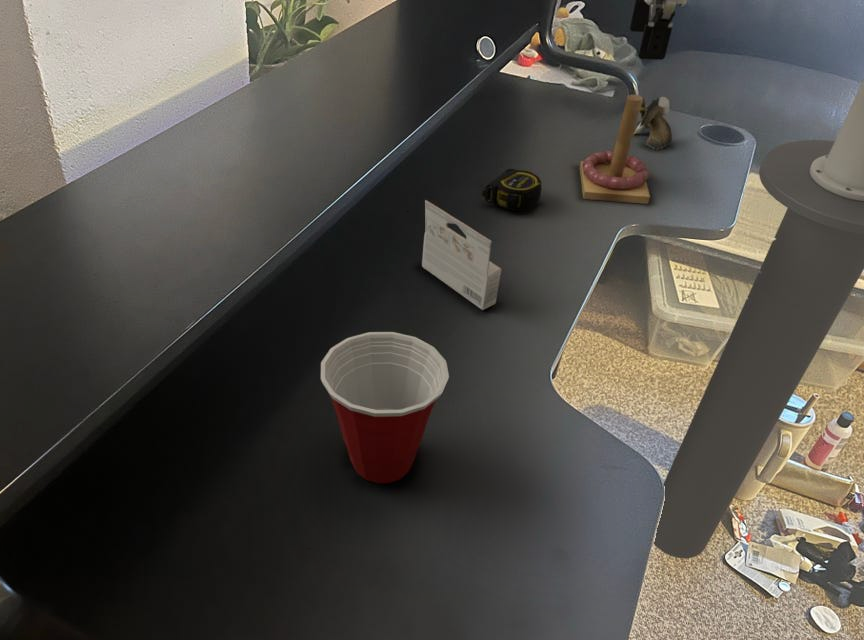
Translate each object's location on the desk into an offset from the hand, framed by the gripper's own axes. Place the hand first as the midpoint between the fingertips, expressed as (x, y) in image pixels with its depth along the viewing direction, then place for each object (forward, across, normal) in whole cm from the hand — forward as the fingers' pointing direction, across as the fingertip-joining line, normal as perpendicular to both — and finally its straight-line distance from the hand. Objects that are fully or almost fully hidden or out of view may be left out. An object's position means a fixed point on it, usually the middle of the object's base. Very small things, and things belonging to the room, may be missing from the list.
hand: (646, 44), depth 97 cm
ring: (+17, -3, +1) cm, 17 cm away
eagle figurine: (+19, +13, -6) cm, 24 cm away
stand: (+19, -4, +1) cm, 19 cm away
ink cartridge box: (+18, -31, +22) cm, 42 cm away
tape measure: (+19, -11, +16) cm, 27 cm away
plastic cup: (+18, -59, +28) cm, 68 cm away
